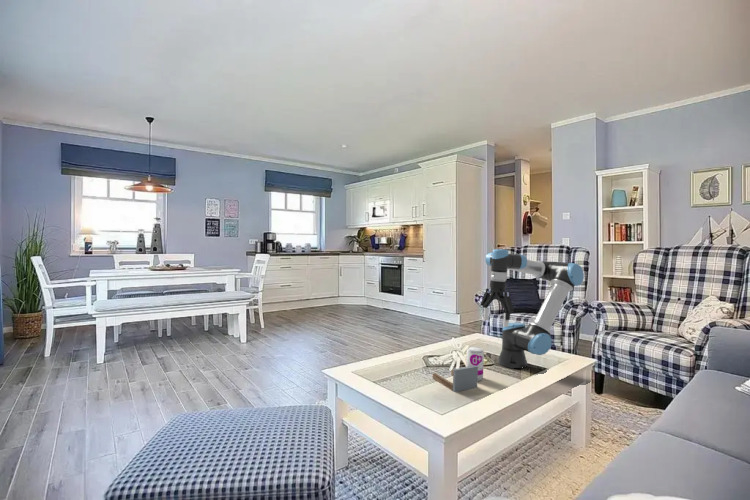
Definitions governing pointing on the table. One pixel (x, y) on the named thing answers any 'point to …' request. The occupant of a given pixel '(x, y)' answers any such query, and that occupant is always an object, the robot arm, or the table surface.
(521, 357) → the robot arm
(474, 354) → the supplement can
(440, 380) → the channel
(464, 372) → the block
